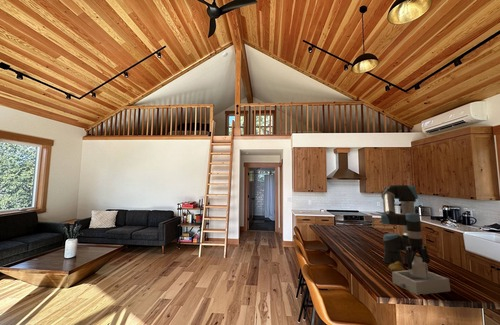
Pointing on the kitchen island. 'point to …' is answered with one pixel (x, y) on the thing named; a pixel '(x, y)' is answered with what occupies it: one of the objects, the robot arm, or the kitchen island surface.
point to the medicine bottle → (419, 267)
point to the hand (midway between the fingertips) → (418, 273)
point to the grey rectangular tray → (421, 282)
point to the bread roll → (396, 267)
